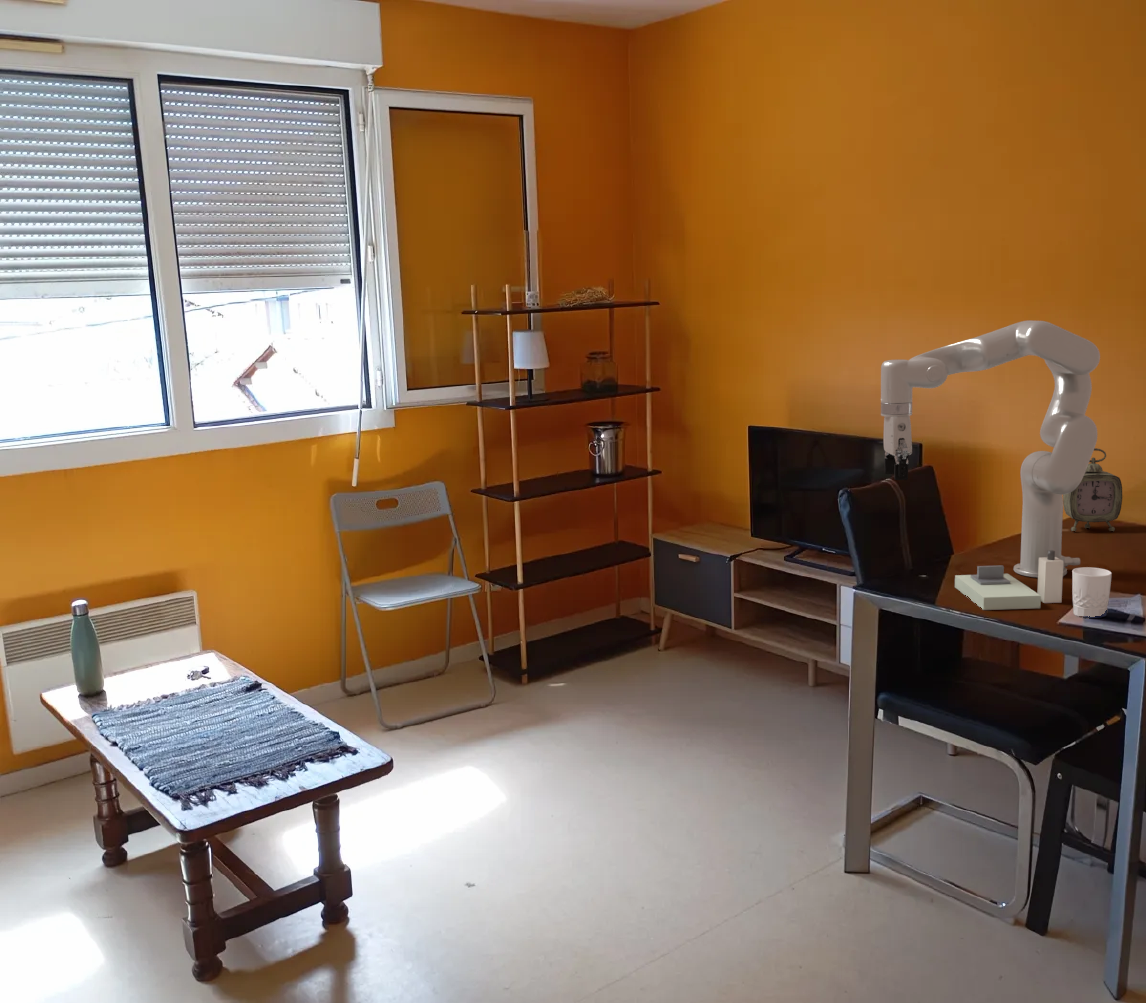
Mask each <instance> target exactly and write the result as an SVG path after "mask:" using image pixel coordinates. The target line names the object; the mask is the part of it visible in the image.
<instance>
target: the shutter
mask: <svg viewBox="0 0 1146 1003" xmlns="http://www.w3.org/2000/svg"><path fill="white" fill-rule="evenodd" d="M976 567H977V568H976V570H977V571H976V572H977V573H976V574H970V575H971V578H972V579H973V580H975V581H976V582H978V583H979V584H980V585H992V584H1010V581H1009V580H1007V579H1006V578H1004V574H1005V573H1004V572H1005V571H1004V569H1005V567H1004V565H1002V564H1001V565H977V566H976Z"/></svg>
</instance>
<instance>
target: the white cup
mask: <svg viewBox="0 0 1146 1003" xmlns="http://www.w3.org/2000/svg"><path fill="white" fill-rule="evenodd" d="M1071 572H1072V576H1071V577H1072V583H1071V585H1072V587H1071V588H1072V591H1071V592H1072V595H1071V596H1072V606H1073V607H1072V609H1073V610H1072V613H1073V615H1075V616H1076V617H1079V616H1088V617H1089V616H1090V617H1095V616H1101V615H1102V614H1104V613H1105V611H1106V610H1107V611H1108V604H1109V599H1110V593H1111V586H1112V585H1111V584H1112V583H1111V582H1112V574H1113V573H1112V572H1111V570H1108V569H1105V568H1101V567H1100V568H1099V567H1090V566H1089V567H1088V566H1086V567H1076V568H1073V569H1072V571H1071Z"/></svg>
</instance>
